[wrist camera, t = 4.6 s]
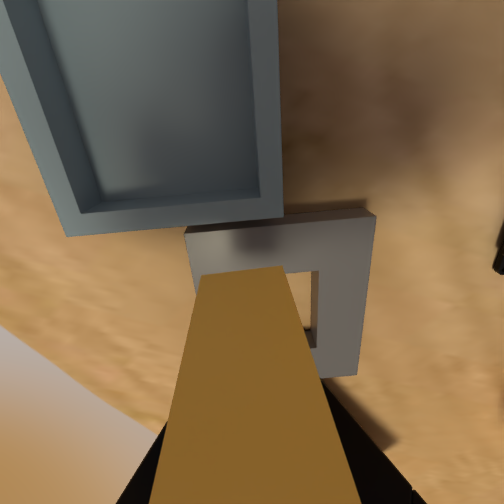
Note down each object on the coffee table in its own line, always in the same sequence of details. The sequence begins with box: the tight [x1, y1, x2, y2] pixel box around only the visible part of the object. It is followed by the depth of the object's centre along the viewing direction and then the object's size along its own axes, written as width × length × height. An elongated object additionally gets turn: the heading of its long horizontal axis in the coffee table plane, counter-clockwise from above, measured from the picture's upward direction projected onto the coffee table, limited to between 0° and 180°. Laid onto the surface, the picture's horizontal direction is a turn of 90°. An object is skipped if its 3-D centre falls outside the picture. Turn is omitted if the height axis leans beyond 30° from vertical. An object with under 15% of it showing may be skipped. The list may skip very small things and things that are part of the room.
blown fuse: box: [149, 265, 361, 504], centre depth 7 cm, size 3×5×8 cm, turn 6°
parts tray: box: [0, 0, 284, 237], centre depth 13 cm, size 12×16×4 cm
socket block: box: [184, 207, 377, 378], centre depth 21 cm, size 12×14×2 cm
